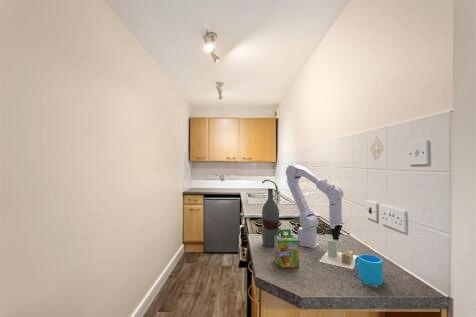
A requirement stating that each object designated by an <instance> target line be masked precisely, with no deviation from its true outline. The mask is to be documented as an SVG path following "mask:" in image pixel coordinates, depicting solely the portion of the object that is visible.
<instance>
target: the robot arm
mask: <svg viewBox="0 0 476 317" xmlns="http://www.w3.org/2000/svg"><path fill="white" fill-rule="evenodd" d="M285 176H286V183H287V186H288V188H289V191H290V192H291V195H292V198H293V200H294V202H295V204H296V206H297V209H298V211H299V215H298V219H299V225H300V227H298V228H297V240H298V241H299V246H300V247H301V246H302V247H306V248H307V247H308V248H312V249H315V248H317V247H318V245H319V243H318V241H317V229H318V228H317V226H319V223H320V220H319V217H318V216H317V215H316V214H315V213H314V211H313V210H311V208H310V206H309V205H308V203H307V200H306V198H305V196H304V194H303V191H302V189H301V186H300V185H299V181H300V179H301V178H302V177H304V178H305V179H307V180H308V181H310V182H312V183H313V184H314V185H315V187H316V189H318V190H319V191H320V192H322V193H323V194H324V195H326V197H327V199H328V202H329V203H328V205H329V206H328V210H329V213H328V214H329V215H328V218H329V220H328V223H329V225H328V228H329V230H330V233H331V236H332V239H334V240H338V241H339V239H340V233H341V230H342V228H343V225H344V224H345V222H344V221H343V218H342V217H343V216H342V215H343V214H342V212H343V210H342V209H343V207H342V198H344V191H343V190H342V189H341V188H340V187H336V185H335V184H331V183H330V182H329V181H328V179H327V178H325V179H324V178H319V177H318V176H316V175H315V174H314V173H313V172H311V171H310V170H308V168H307V167H305V166H303V164H302V165H301V164H297V165H296V164H294V165H293V164H291V165H288V166H287V168H286V169H285Z"/></svg>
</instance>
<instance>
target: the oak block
mask: <svg viewBox="0 0 476 317" xmlns="http://www.w3.org/2000/svg"><path fill="white" fill-rule="evenodd" d="M341 253H342V254H341V258H342V263H345V264H350V265H351V263H352V261H353V255H354V251H353V250H348V249H344V250H343V251H342V252H341Z"/></svg>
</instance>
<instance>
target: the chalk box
mask: <svg viewBox="0 0 476 317" xmlns="http://www.w3.org/2000/svg"><path fill="white" fill-rule="evenodd" d="M291 231H292V229H290V228H287V229H286V228H285V229H283V228H282V229H280V231H279V233H280V234H279V235H274V247H273V255H274V256H273V260H274V262H275V264H276V267H277V268H278V269H285V268H289V269H291V268H293V269H294V268H295V269H296V268H297V269H299V267H300V266H299V264H300V245H299V241H298V237H296V236H295V235H294V234H292V232H291ZM285 232H286V233H287V234H284V233H285Z"/></svg>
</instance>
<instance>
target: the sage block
mask: <svg viewBox="0 0 476 317" xmlns="http://www.w3.org/2000/svg"><path fill="white" fill-rule="evenodd" d="M338 244H339V239H338V240H334V239H333V238H329V239H327V251H328V256H332V257H337V255H338V252H339V251H338V248H339V246H338Z"/></svg>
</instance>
